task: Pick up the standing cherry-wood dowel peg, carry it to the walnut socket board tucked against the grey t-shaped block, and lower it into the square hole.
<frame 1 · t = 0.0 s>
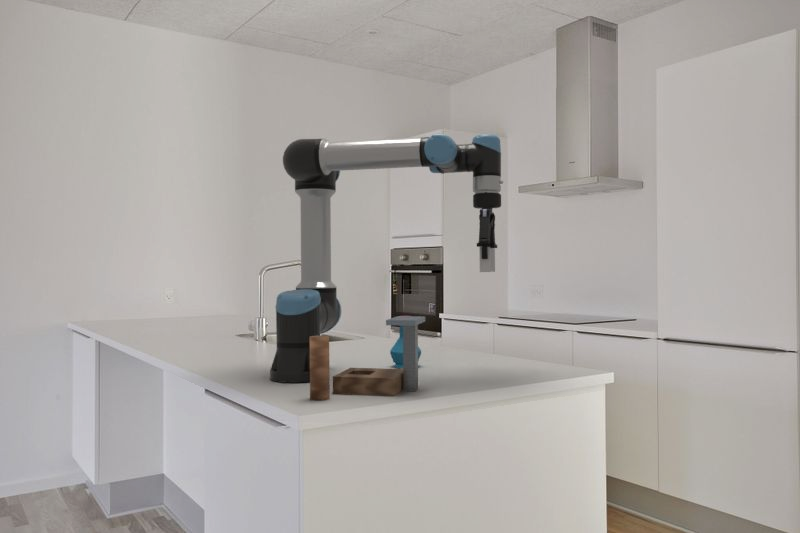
hand: (487, 271, 181), 28 cm above the counter, fingers open, 13 cm apart
peg: (319, 398, 151), on the counter
perfume bottle: (405, 367, 198), on the counter
grey t-shaped block: (406, 389, 161), on the counter
socket board: (361, 388, 162), on the counter
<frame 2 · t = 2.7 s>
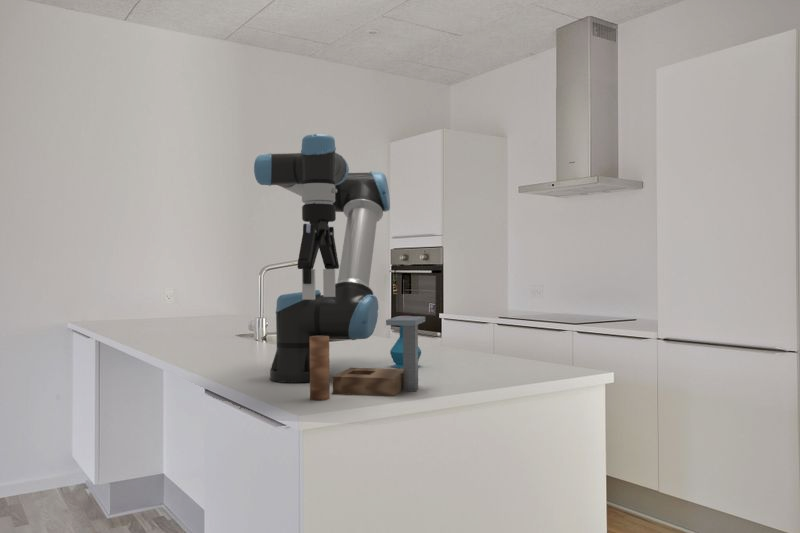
hand: (319, 298, 151), 23 cm above the counter, fingers open, 13 cm apart
nothing on the counter moved.
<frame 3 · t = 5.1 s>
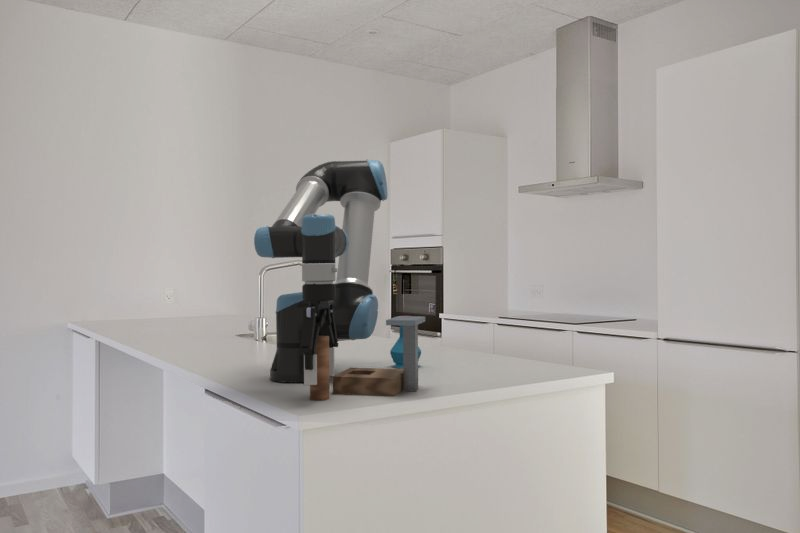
hand: (319, 379, 151), 4 cm above the counter, fingers open, 11 cm apart
nothing on the counter moved.
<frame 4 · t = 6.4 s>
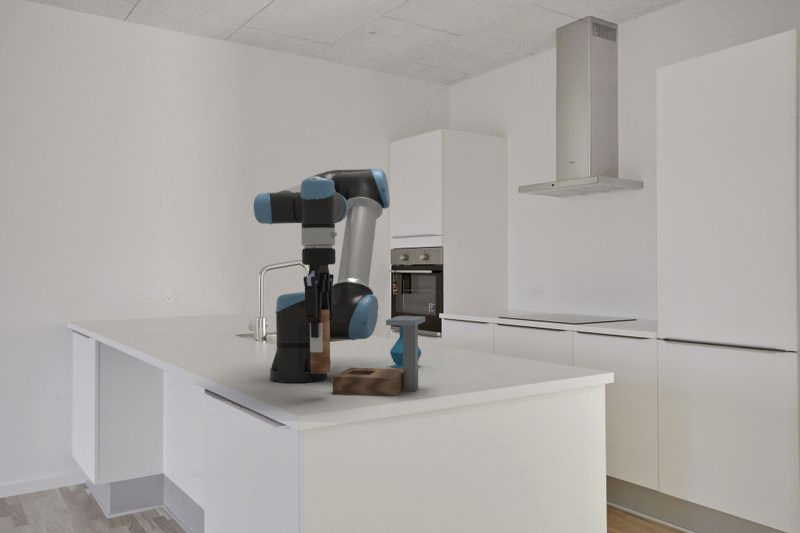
hand: (320, 350, 152), 11 cm above the counter, fingers closed on peg, 4 cm apart
peg: (320, 371, 152), point 6 cm above the counter, touching gripper
everything else where it was.
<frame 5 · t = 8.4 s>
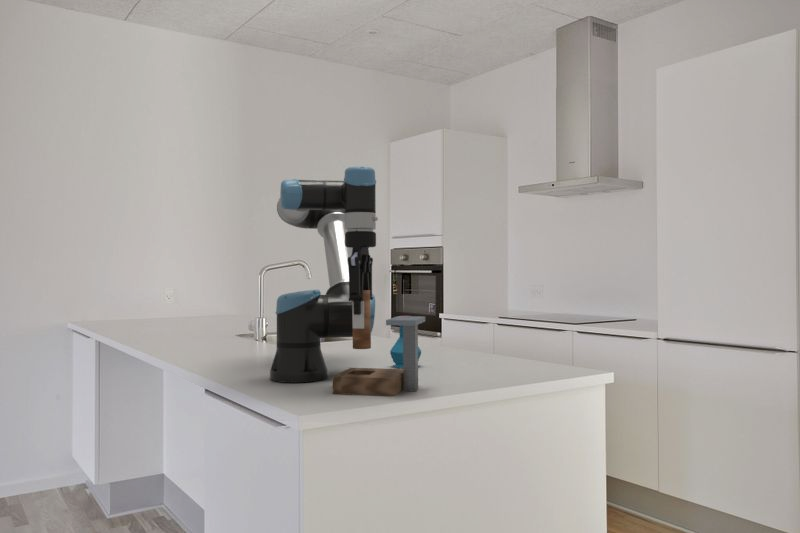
hand: (361, 327, 162), 15 cm above the counter, fingers closed on peg, 4 cm apart
peg: (361, 348, 162), point 10 cm above the counter, touching gripper
everything else where it was.
when the fingers open (5 cm above the counter, at t = 10.4 s): peg stays where it is, resting in socket board.
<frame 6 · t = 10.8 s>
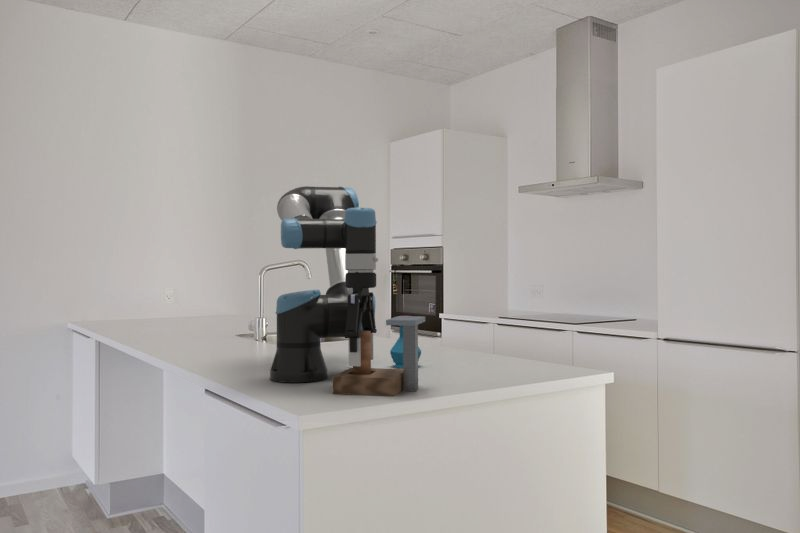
hand: (361, 362, 162), 6 cm above the counter, fingers open, 10 cm apart
peg: (361, 389, 162), resting in socket board
everything else where it was.
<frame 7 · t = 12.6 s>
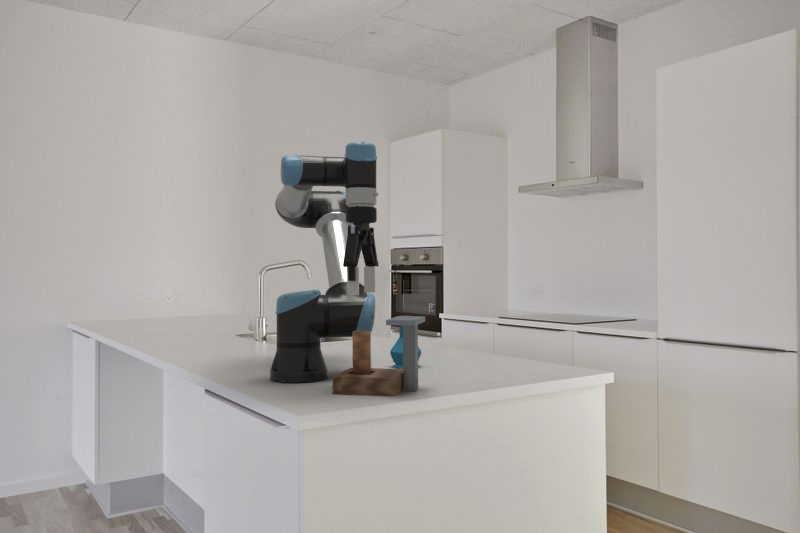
hand: (361, 293, 163), 23 cm above the counter, fingers open, 13 cm apart
nothing on the counter moved.
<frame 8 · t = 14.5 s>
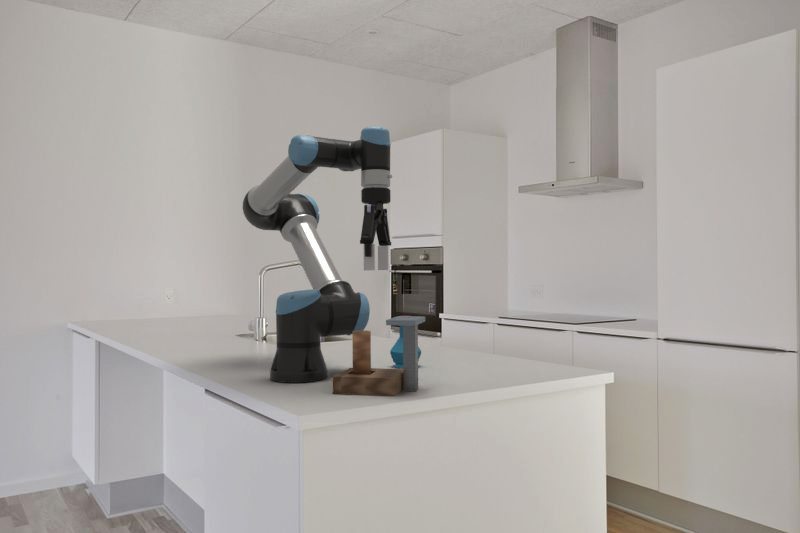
hand: (376, 270, 173), 29 cm above the counter, fingers open, 13 cm apart
nothing on the counter moved.
at the end: peg 0.1 cm off-centre on the socket board, point 0.0 cm above the socket board's base; peg tilted 0°; the gripper is holding nothing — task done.
